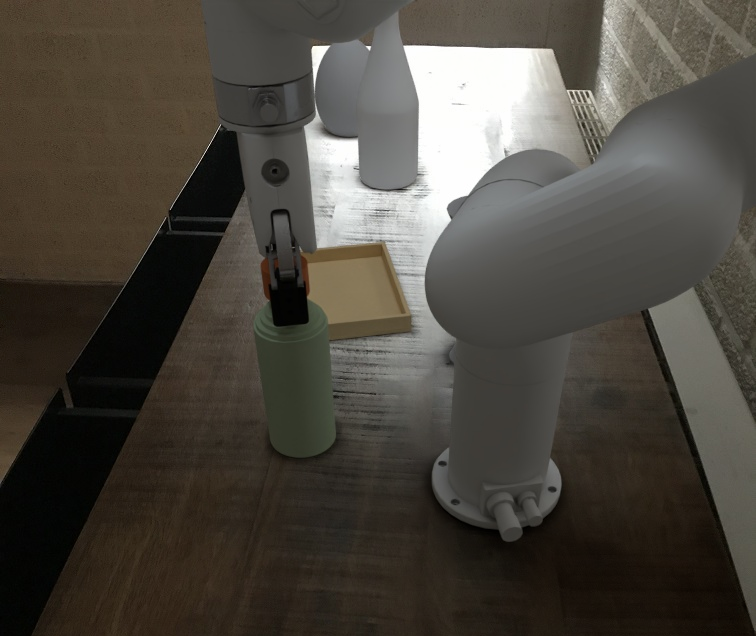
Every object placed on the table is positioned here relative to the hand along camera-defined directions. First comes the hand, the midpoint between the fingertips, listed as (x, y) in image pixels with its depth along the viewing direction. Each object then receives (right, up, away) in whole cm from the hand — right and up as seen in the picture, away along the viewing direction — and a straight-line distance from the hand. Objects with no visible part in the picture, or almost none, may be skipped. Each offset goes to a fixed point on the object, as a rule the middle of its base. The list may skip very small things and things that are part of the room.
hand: (288, 304), depth 73 cm
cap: (0, +1, -1) cm, 1 cm away
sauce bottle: (0, -11, +11) cm, 16 cm away
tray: (+4, +9, +31) cm, 32 cm away
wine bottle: (+10, +35, +57) cm, 67 cm away
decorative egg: (+3, +50, +72) cm, 88 cm away
